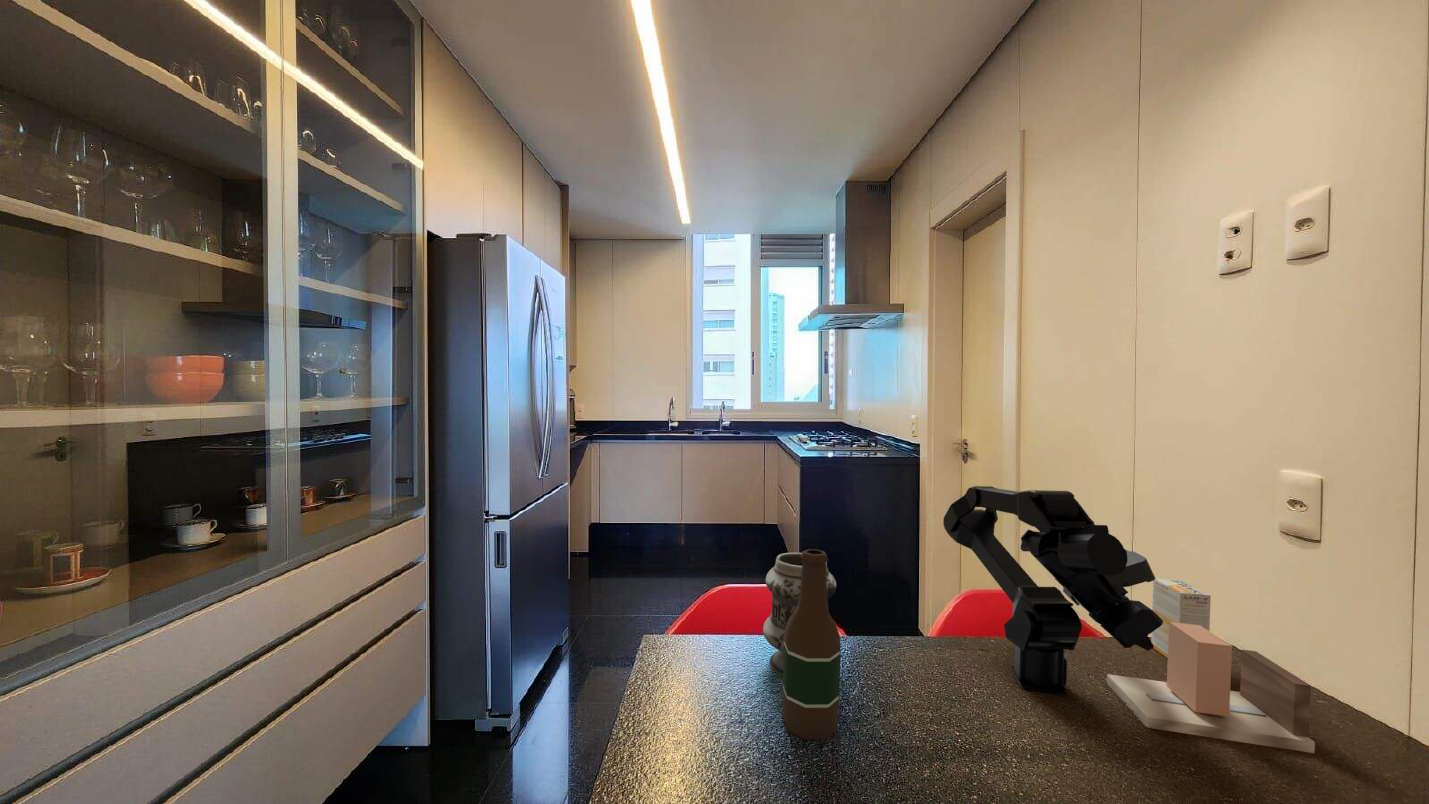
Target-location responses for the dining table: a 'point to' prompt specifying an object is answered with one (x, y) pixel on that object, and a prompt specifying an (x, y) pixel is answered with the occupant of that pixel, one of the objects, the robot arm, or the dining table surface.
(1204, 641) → the tan rectangular block
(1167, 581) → the supplement box
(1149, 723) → the track
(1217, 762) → the dining table surface
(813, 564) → the beer bottle
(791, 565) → the apothecary jar
